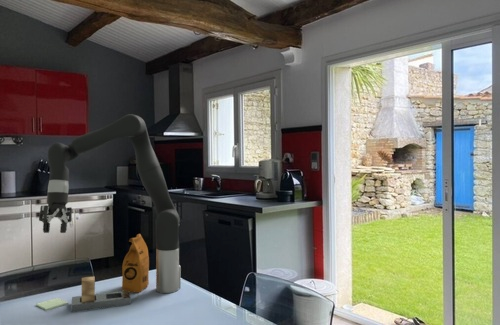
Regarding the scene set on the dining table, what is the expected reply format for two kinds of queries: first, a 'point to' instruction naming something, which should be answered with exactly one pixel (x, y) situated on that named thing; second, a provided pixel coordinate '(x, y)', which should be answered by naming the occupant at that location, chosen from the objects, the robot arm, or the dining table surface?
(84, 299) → the peg
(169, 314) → the dining table surface
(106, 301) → the block with square holes
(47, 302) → the mat
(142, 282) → the coffee package
